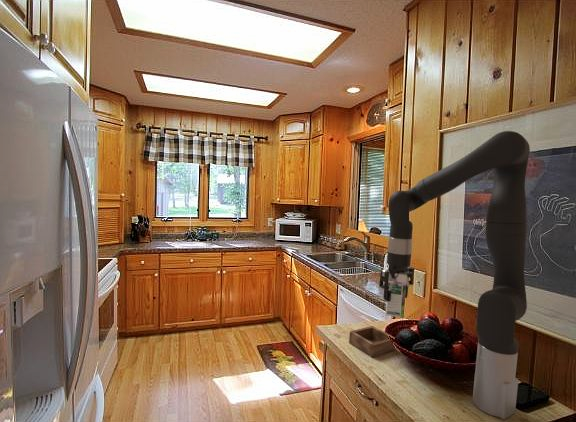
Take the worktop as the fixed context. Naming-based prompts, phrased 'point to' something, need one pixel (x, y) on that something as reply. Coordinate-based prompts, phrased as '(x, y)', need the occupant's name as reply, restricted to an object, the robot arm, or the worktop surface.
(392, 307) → the syrup box
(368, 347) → the brown square open box
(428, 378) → the worktop surface
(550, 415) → the worktop surface
